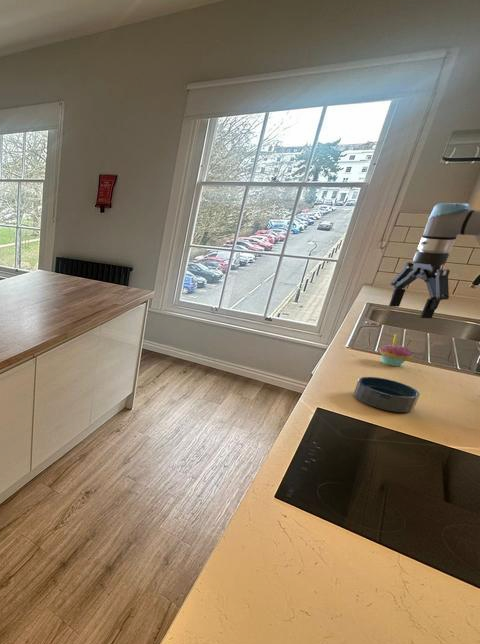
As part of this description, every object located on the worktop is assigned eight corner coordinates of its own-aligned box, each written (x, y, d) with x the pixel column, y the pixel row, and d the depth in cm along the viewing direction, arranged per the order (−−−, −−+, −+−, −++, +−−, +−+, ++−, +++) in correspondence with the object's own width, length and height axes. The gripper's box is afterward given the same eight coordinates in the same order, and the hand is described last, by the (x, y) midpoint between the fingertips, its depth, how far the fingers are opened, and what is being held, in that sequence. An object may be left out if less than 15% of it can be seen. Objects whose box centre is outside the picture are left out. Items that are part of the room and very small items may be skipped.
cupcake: (374, 363, 148) (386, 333, 144) (376, 357, 153) (387, 327, 149) (407, 370, 142) (420, 339, 138) (408, 363, 147) (421, 333, 143)
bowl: (425, 415, 116) (432, 399, 114) (372, 411, 118) (379, 395, 116) (389, 393, 128) (396, 378, 126) (342, 390, 130) (348, 375, 128)
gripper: (390, 245, 145) (370, 301, 153) (454, 257, 122) (427, 322, 130) (415, 246, 144) (393, 302, 151) (484, 258, 121) (454, 323, 129)
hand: (409, 311), depth 141 cm, fingers open, 13 cm apart
